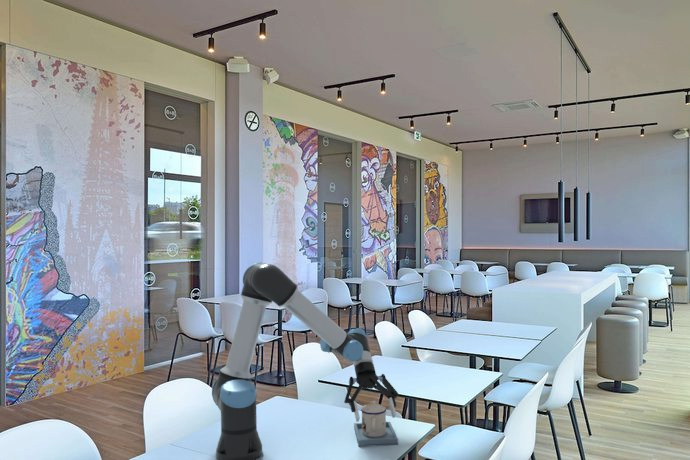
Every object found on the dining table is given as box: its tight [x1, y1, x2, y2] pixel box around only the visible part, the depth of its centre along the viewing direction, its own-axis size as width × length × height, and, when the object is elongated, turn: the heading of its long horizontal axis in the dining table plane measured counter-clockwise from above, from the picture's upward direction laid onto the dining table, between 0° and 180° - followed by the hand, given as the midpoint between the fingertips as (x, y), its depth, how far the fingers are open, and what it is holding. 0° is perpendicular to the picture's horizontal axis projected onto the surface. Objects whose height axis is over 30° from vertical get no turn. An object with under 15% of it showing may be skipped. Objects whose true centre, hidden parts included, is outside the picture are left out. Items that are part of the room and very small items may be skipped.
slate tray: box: [353, 421, 399, 447], centre depth 186 cm, size 14×17×2 cm
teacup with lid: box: [360, 399, 387, 437], centre depth 186 cm, size 12×9×12 cm
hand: (376, 418), depth 184 cm, fingers open, 13 cm apart
